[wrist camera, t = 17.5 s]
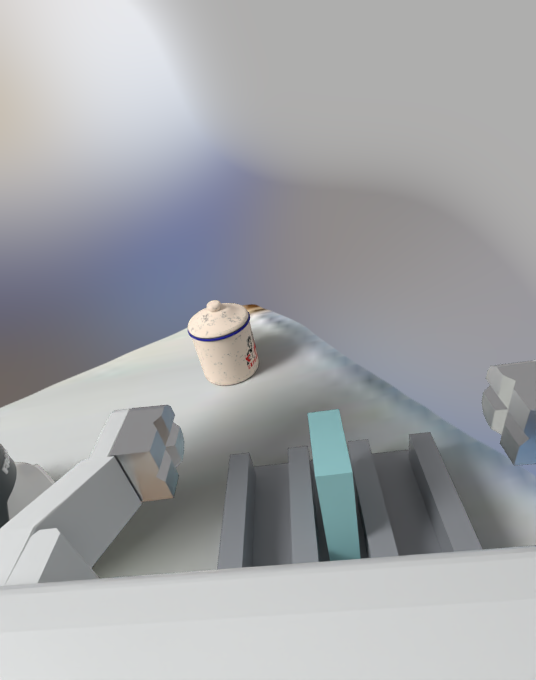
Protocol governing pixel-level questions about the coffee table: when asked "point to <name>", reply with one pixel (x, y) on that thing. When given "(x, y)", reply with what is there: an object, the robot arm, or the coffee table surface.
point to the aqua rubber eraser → (334, 484)
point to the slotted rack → (370, 498)
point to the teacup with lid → (224, 343)
